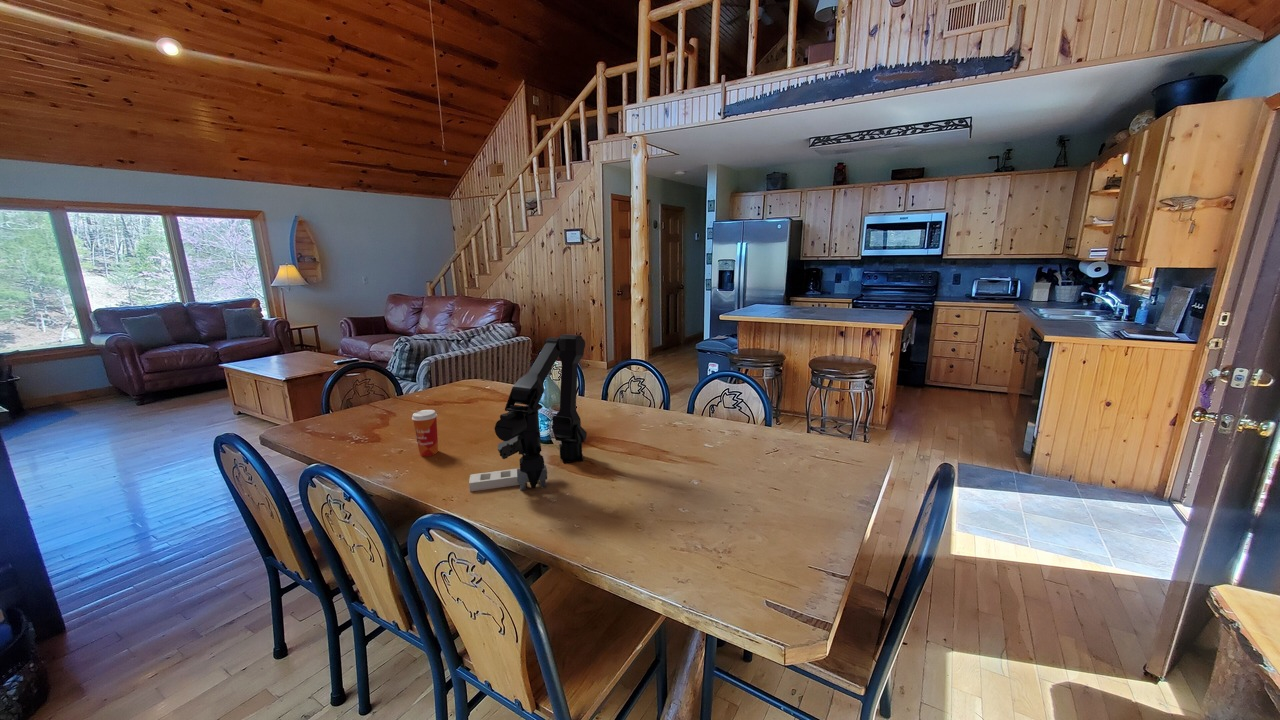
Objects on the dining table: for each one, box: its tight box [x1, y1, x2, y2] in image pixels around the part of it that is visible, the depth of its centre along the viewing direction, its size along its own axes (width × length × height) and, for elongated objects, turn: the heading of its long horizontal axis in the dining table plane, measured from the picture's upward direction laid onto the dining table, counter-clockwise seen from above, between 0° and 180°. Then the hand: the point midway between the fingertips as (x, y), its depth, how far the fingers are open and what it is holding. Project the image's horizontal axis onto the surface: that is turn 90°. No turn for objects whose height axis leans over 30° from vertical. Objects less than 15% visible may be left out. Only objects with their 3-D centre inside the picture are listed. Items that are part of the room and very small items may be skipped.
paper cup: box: [411, 409, 439, 457], centre depth 160 cm, size 8×8×14 cm
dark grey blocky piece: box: [516, 464, 548, 492], centre depth 136 cm, size 8×3×5 cm, turn 105°
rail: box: [468, 467, 520, 492], centre depth 138 cm, size 14×6×2 cm, turn 105°
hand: (532, 481), depth 136 cm, fingers open, 8 cm apart
